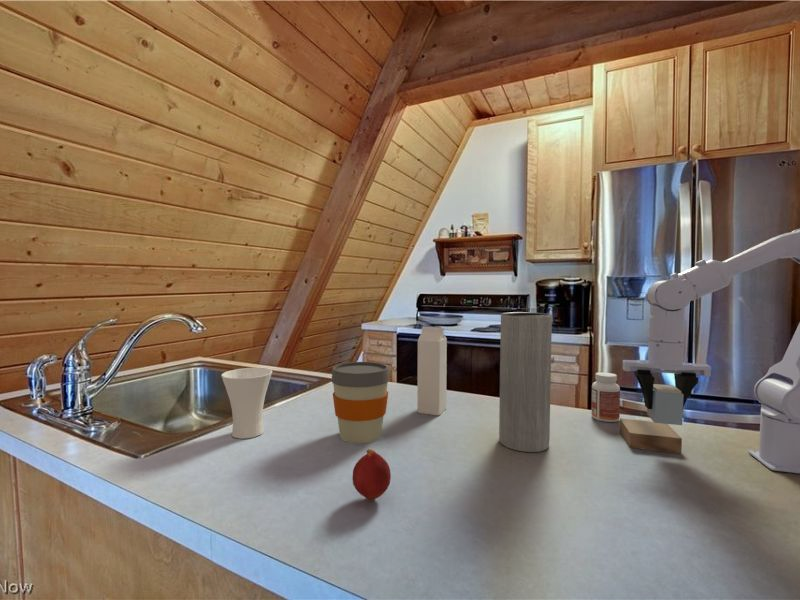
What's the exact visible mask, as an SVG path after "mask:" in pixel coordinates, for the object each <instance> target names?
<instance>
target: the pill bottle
mask: <svg viewBox="0 0 800 600" xmlns="http://www.w3.org/2000/svg"><path fill="white" fill-rule="evenodd" d="M594 379H595V381H594V382H592V385H591V417H592V418H593V419H594V420H597V421H600V422H604V423H605V422H606V423H615V422H618V421H620V415H621V414H620V413H621V411H620V409H621V407H620V406H621V405H620V404H621V388H620V385H619V384H618V383H616V382H617V380H618V375H617V374H616V373H612V372H611V373H610V372H603V371H602V372H601V371H600V372H595V377H594Z"/></svg>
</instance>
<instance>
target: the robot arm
mask: <svg viewBox="0 0 800 600" xmlns="http://www.w3.org/2000/svg"><path fill="white" fill-rule="evenodd" d="M778 259H791V260H793V261H794V262H795V263H798V264H799V265H800V228H796V229H794V230H792V231H791V232H785V233H782V234H779V235H776V236H774V237H771V238H769V239H767V240H765V241H762V242H761V243H759V244H756V245H754V246H752V247H750V248H749V249H746V250H744V251H742V252H740V253H738V254H736V255H733V256H732V257H729V258H727V259H725V260H723V261H719V260H717V259H708V260H705V259H701V260H699V261H696V262H695V263H694V265H695V266H692V267H690V268H688V269H686V270H684V271H682V272H680V273H677V272H674V273H671V274H670V275H669V279H667V280H659V281H658V280H657V281H656V282H654V283H653V284H651V285H650V287H649V288H648V290H647V293H645V300H646V302H647V303H648V305H650V309H649V310H650V311H649V323H648V324H649V326H648V351H647V352H648V353H647V355H648V357H647V358H648V359H640V360H639V359H637V360H636V359H635V360H634V359H623V360H622V370H623V371H625V372H633V373H634V376H635V378H636V379H637V381H638V385H639V386H640V390H641V393H642V396H643V400H644V407H645V408H646V410H647V409H652V405H653V401H652V392H653V385H654V384H655V379H656V378H655V377H654V376H653V373H664V374H673V376H674V377H673V378H674V386H675V387H676V388H678V389H679V390H680V391H681V393H682V394H684V397H683V410H685V409H684V408H685V405H686V403H687V401H688V399H689V396H690V395H691V392H692V391H693V389H694V388H695V387H696V385H698V383H699V377H698V376H703V377H711V376H712V375H711V373H712V372H711V370H712V367H711V366H710V365H709V364H704V363H702V364H701V363H691V362H684V350H685V349H684V345H685V343H684V342H685V308H686V307H688V306H689V304H690V303H691V301H696V300H698V299H700V298H702V297H705V296H707V295H709V294H711V293H715V292H716V291H720V290H722V289H723V288H726V287H728V286H729V285H730V283H731V282H732V279H733V277H735V276H736V275H739V274H741V273H745V272H747V271H749V270H753V269H755V268H757V267H761V266H763V265H765V264H767V263H770V262H773V261H775V260H778ZM754 384H755V385H754V387H753V394H754V397H755V399H756V400H757V401H758V403H760V404H761V405H760V406H761V407H760V419H759V421H760V423H759V424H760V425H759V441H758V442H759V444H758V445H759V446H758V447H759V448H758V450H752V449H749V450H748V451H747V452H748V454H750V455H751V456H752V457H754V459H756V460H758V461H759V463H761V464H763V466H766V467H767V468H768V469H769V470H772V471H777V472H784V473H793V474H800V322H799V323H798V325H797V328H796V330H795V332H794V334H793V335H792V338H791V340H790V343H789V345H788V347H787V349H786V351H785V353H784V355H783V357H782V359H781V361H779V362H777V363H775V364H774V365H772V366H770V367H769V368H768V371H767V372H766V374H765V375H764V376H763V377H761V378H760V379H759V380H758V381H756V383H754Z"/></svg>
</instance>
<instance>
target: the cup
mask: <svg viewBox="0 0 800 600" xmlns="http://www.w3.org/2000/svg"><path fill="white" fill-rule="evenodd" d="M272 374H273V370H272V369H270V368H265V367H246V368H245V367H243V368H235V369H232V370H227V371H225V372H223V373H221V376H220V377H221V378H222V382H223V384H224V386H225V390H226V393H227V396H228V399H229V402H230V409H231V413H232V414H231V415H232V431H231V436H232V437H233V438H234V439H251V438H255V437H258V436H261V435H262V434H263V433H264V431H265V430H264V421H263V417H264V416H263V413H264V405H265V404H264V403H265V399H266V393H267V391H268V386H269V385H270V380H271V377H272Z"/></svg>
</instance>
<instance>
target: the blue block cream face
mask: <svg viewBox="0 0 800 600" xmlns="http://www.w3.org/2000/svg"><path fill="white" fill-rule="evenodd" d="M683 397H684V394H682V393H681V391H680V390H679V389H678V388H676V387H675V384H674V385H673V384H672V385H671V384H660V383H659V384H658V383H654V385H653V392H652V401H653V405H652V409H647V408H646V415H647V416H648V417H649V418H650V419H651V421H652V422H654V423H663V424H668V425H673V426H674V425H675V426H683V416H684V415H683V414H684V409H683Z"/></svg>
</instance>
